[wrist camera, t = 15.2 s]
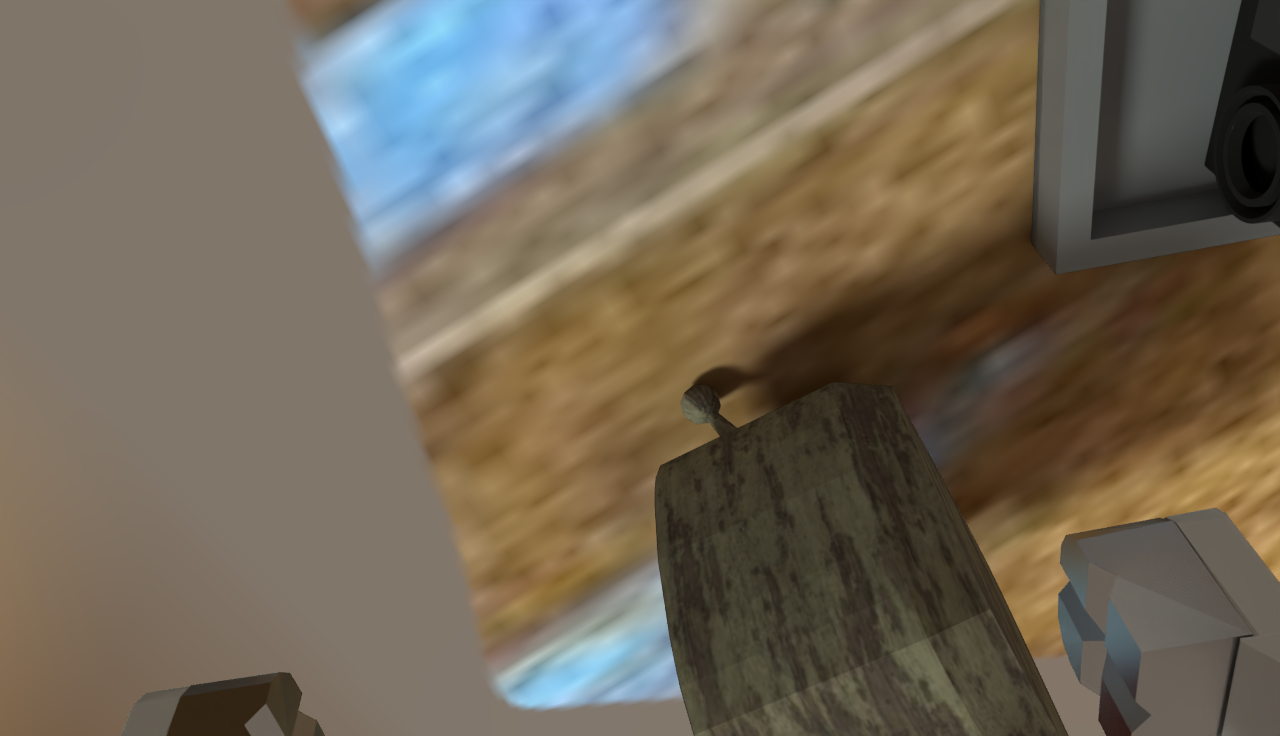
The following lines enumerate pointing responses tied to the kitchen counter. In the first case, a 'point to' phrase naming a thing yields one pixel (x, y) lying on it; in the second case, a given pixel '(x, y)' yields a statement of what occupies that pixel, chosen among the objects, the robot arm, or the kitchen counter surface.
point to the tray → (1130, 131)
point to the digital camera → (1250, 117)
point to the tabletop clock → (833, 581)
